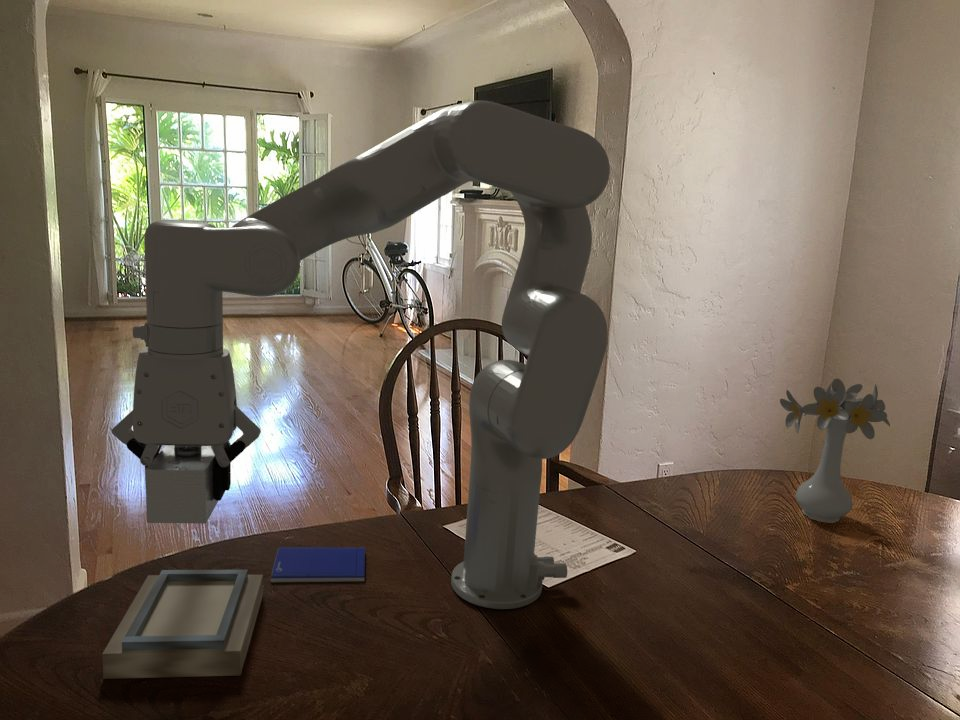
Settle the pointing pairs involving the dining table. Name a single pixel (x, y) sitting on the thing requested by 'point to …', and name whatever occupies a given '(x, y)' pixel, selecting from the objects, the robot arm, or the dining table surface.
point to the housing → (181, 485)
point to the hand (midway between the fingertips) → (188, 493)
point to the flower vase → (833, 444)
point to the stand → (186, 625)
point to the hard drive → (318, 564)
